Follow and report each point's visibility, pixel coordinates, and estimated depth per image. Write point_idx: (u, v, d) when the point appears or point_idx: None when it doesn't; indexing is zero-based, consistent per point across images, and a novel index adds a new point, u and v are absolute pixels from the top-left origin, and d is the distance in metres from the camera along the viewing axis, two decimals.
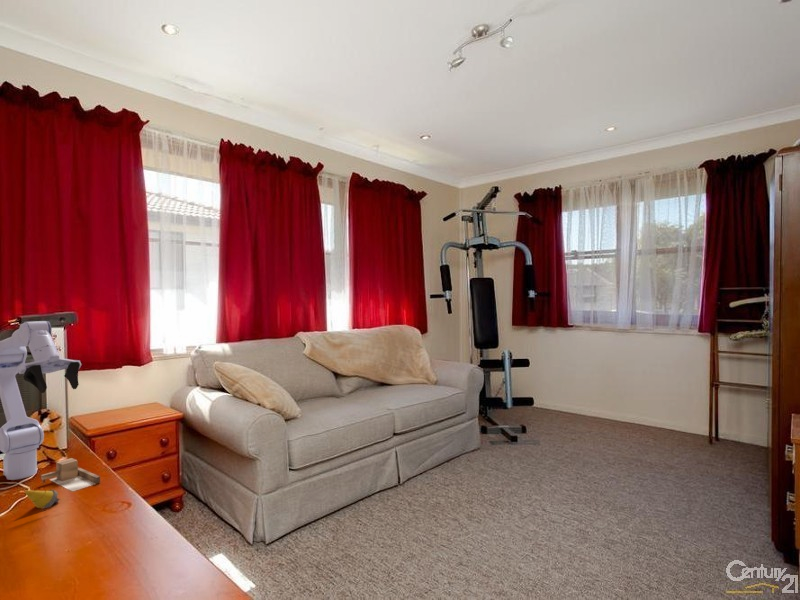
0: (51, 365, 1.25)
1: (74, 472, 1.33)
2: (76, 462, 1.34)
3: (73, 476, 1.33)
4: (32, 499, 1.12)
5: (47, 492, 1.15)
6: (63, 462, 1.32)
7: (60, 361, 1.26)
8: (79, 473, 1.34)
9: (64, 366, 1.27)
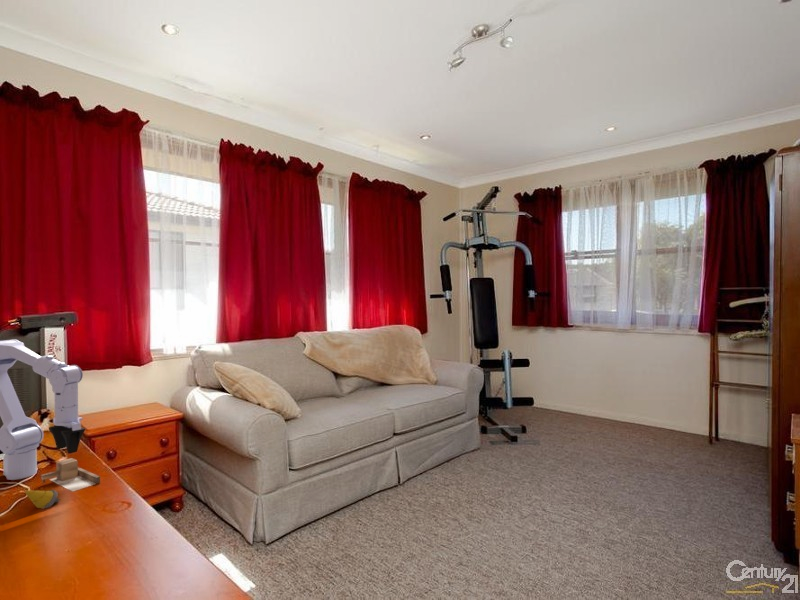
0: None
1: (74, 472, 1.33)
2: (76, 462, 1.34)
3: (73, 476, 1.33)
4: (32, 499, 1.12)
5: (47, 492, 1.15)
6: (63, 462, 1.32)
7: None
8: (79, 473, 1.34)
9: None
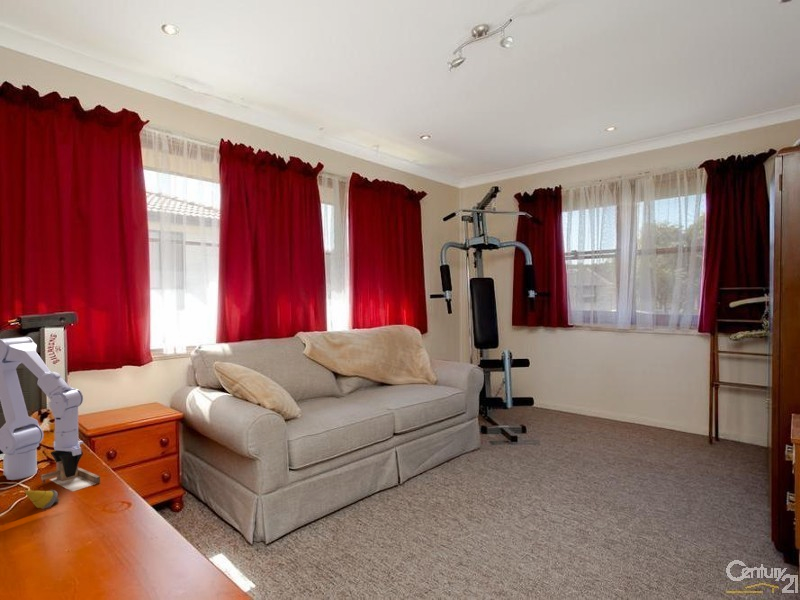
0: None
1: None
2: None
3: (73, 476, 1.33)
4: (32, 499, 1.12)
5: (47, 492, 1.15)
6: None
7: None
8: (79, 473, 1.34)
9: None
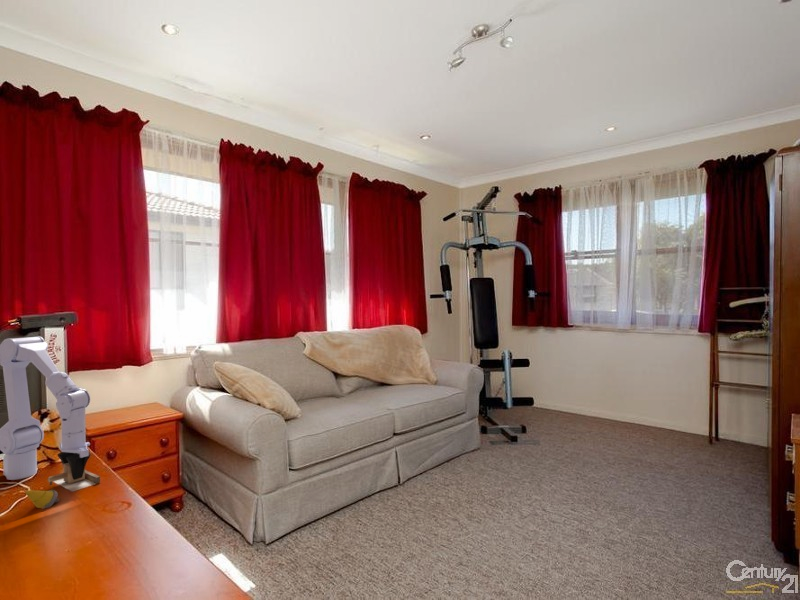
0: None
1: None
2: None
3: (80, 478, 1.30)
4: (32, 499, 1.12)
5: (47, 492, 1.15)
6: None
7: None
8: None
9: None
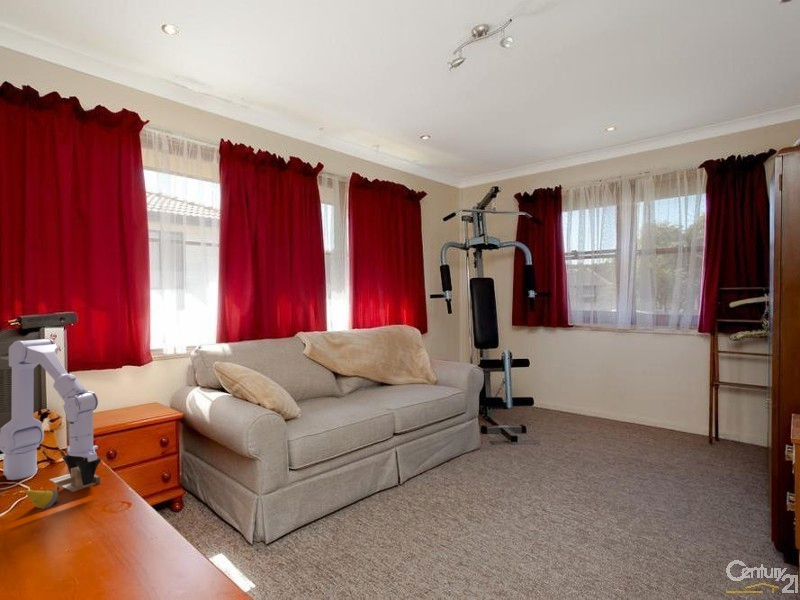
0: None
1: None
2: None
3: None
4: (32, 499, 1.12)
5: (47, 492, 1.15)
6: (78, 468, 1.27)
7: None
8: None
9: None
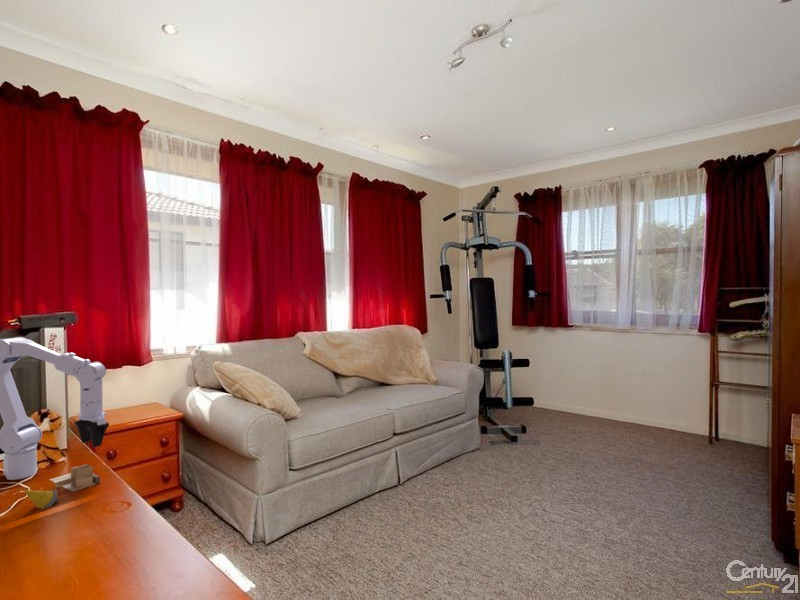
0: None
1: (89, 479, 1.28)
2: (91, 468, 1.28)
3: (88, 483, 1.27)
4: (32, 499, 1.12)
5: (47, 492, 1.15)
6: (78, 468, 1.27)
7: None
8: None
9: None
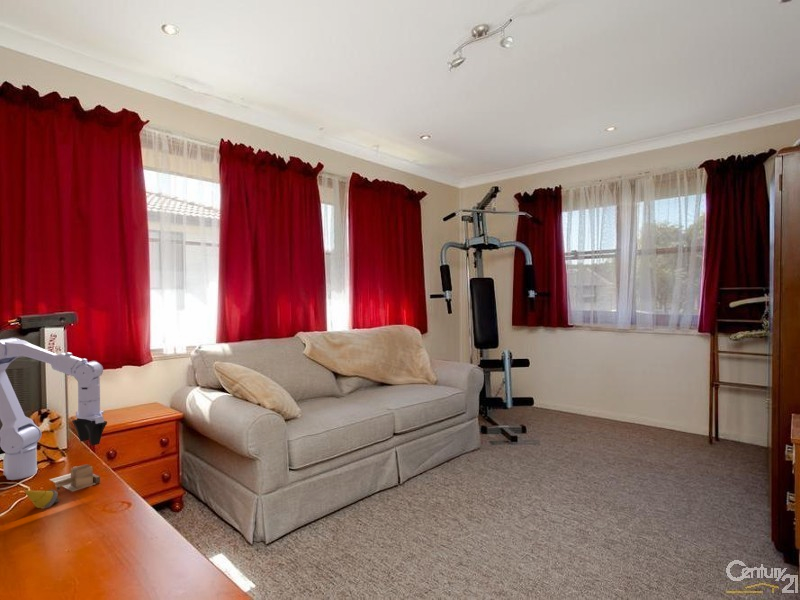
0: None
1: (89, 479, 1.28)
2: (91, 468, 1.28)
3: (88, 483, 1.27)
4: (32, 499, 1.12)
5: (47, 492, 1.15)
6: (78, 468, 1.27)
7: None
8: None
9: None
